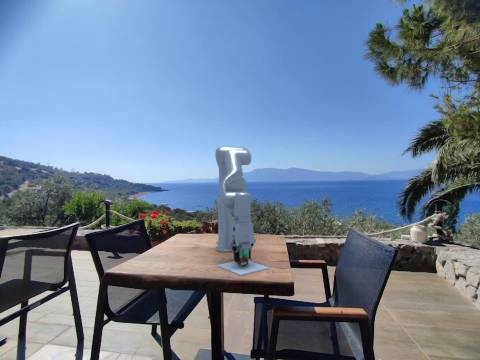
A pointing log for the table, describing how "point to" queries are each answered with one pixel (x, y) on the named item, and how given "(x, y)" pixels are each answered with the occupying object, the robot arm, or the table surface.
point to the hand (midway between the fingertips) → (242, 258)
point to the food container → (243, 254)
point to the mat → (243, 268)
